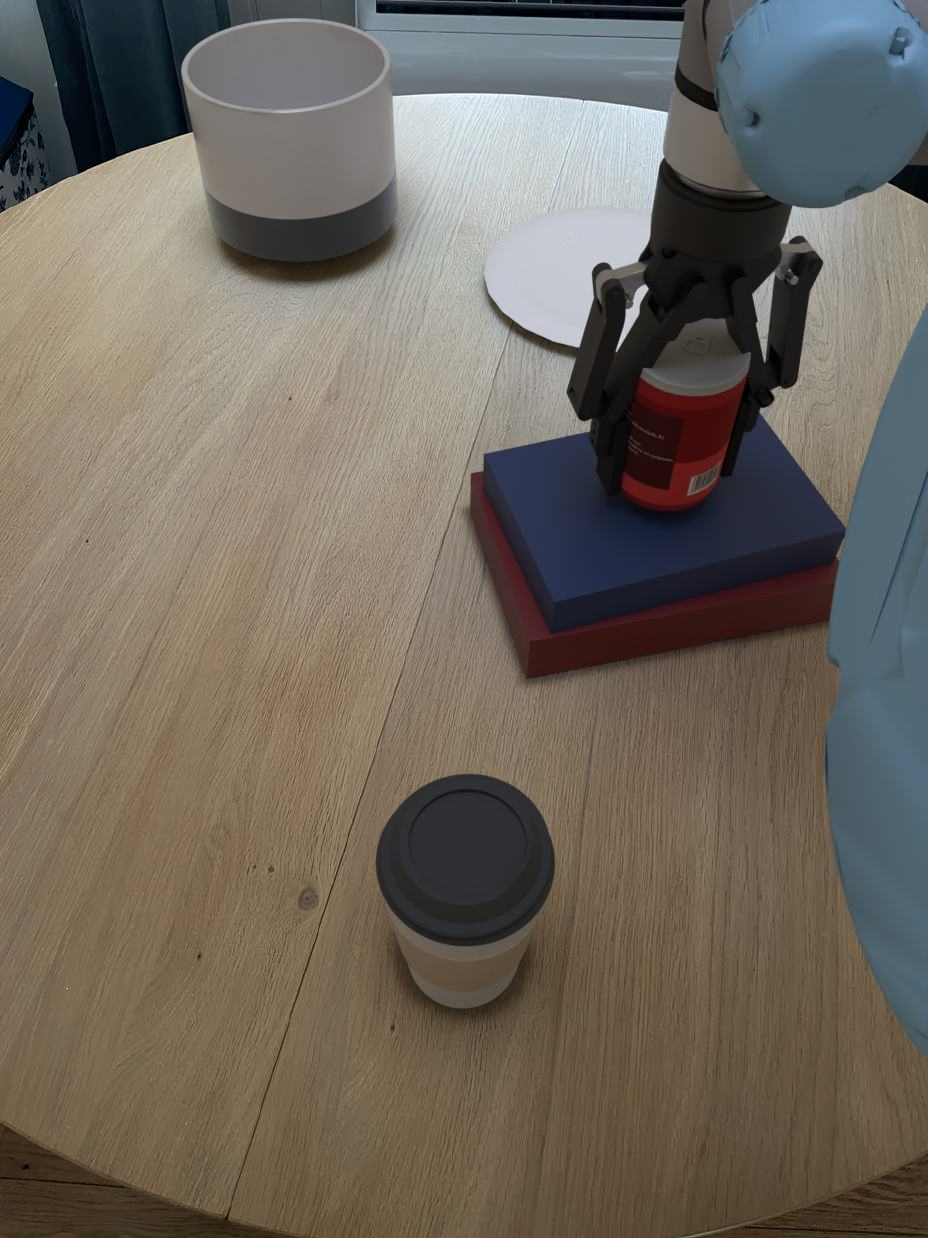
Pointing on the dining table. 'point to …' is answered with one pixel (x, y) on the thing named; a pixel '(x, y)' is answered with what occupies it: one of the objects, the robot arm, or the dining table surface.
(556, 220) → the plate
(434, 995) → the coffee cup
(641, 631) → the book stack
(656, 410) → the canned food
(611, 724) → the dining table surface
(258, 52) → the planter
